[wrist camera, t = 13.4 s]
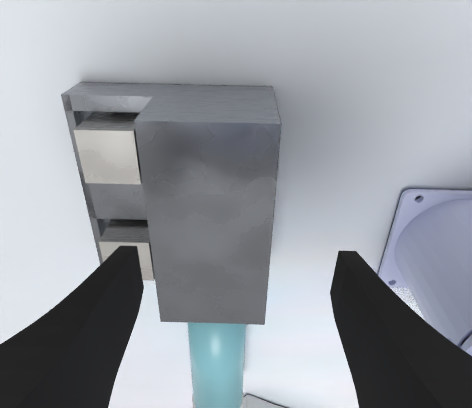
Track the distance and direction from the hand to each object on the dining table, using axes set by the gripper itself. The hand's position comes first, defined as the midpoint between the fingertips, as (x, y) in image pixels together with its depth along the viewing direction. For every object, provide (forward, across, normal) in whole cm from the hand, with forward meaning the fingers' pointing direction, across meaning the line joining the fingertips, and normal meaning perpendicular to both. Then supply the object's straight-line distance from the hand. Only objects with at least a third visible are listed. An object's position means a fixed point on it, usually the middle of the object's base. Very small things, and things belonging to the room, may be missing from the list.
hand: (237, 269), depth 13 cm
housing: (+10, +4, +2) cm, 11 cm away
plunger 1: (+10, +6, -1) cm, 12 cm away
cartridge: (+10, +1, +14) cm, 18 cm away
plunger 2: (+10, +6, +5) cm, 13 cm away
